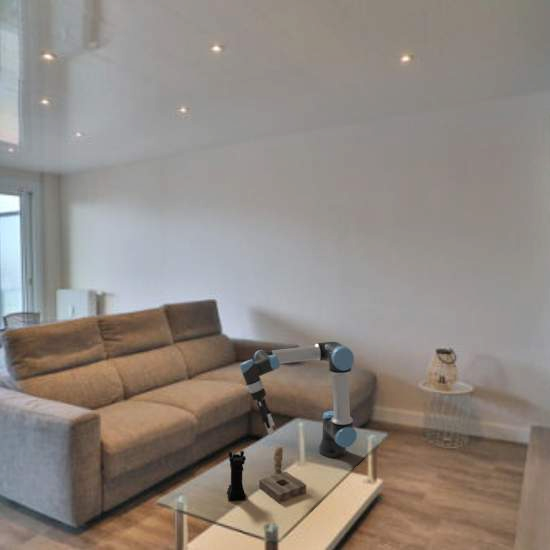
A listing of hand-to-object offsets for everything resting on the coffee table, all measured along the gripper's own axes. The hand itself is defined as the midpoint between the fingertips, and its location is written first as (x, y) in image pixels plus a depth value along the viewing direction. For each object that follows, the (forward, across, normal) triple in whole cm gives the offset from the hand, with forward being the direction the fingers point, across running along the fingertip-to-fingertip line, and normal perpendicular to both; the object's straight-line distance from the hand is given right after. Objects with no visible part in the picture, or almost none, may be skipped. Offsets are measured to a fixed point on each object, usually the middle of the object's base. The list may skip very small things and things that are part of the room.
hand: (271, 429), depth 241 cm
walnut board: (+26, +11, -4) cm, 28 cm away
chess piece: (+18, +18, -24) cm, 35 cm away
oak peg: (+23, -7, -6) cm, 25 cm away
